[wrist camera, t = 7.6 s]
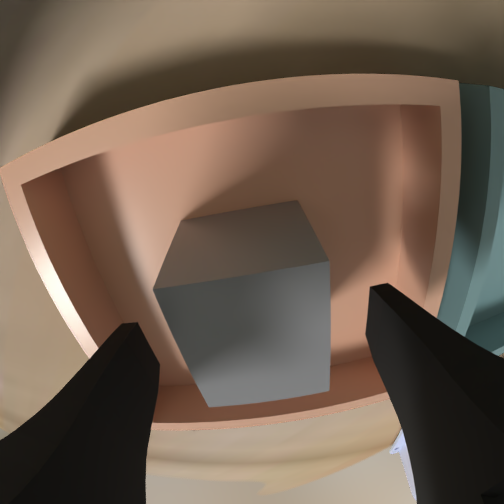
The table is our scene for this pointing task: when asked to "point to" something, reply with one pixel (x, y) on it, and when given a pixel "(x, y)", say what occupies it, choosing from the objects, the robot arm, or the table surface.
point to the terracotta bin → (247, 196)
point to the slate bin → (479, 224)
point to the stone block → (249, 304)
